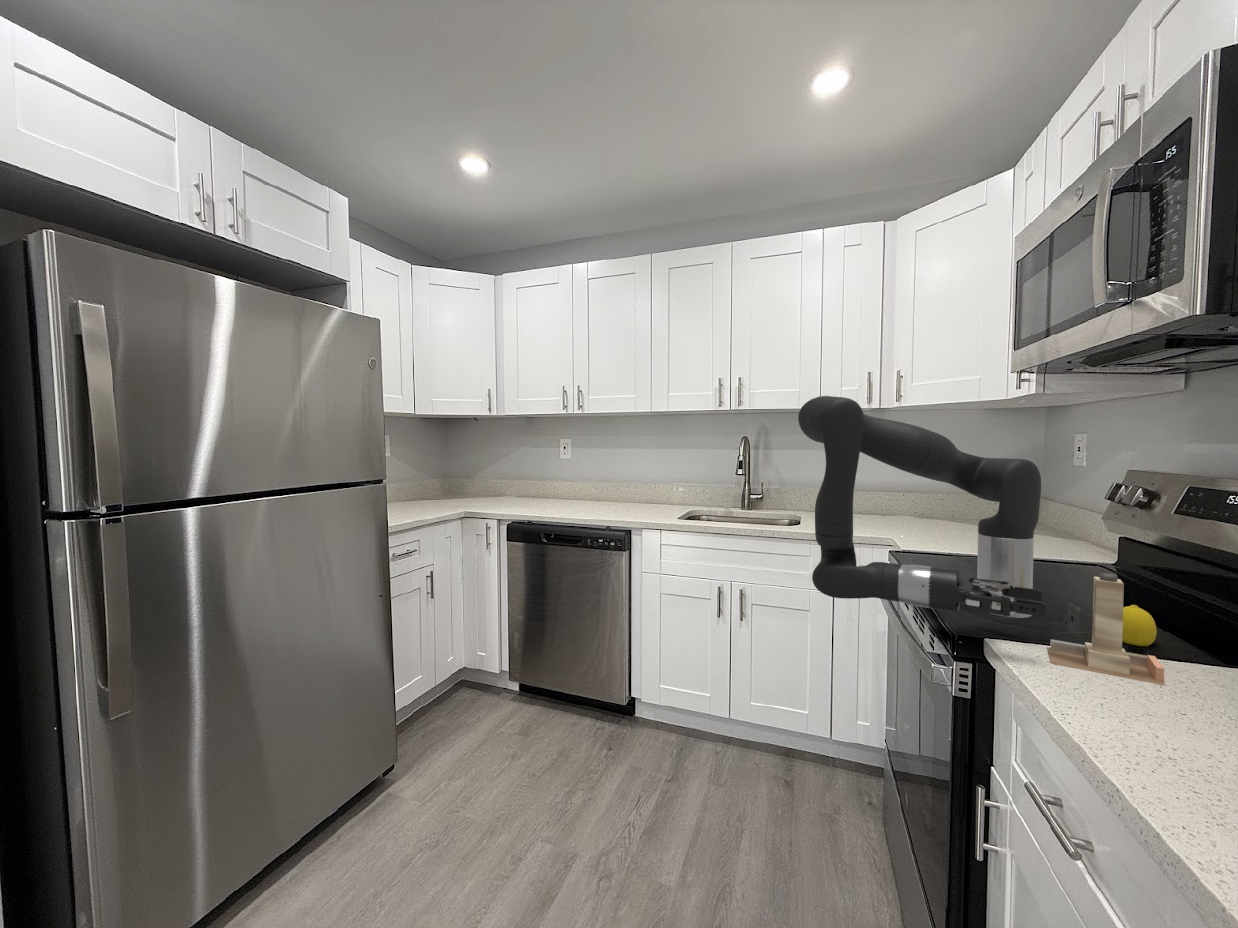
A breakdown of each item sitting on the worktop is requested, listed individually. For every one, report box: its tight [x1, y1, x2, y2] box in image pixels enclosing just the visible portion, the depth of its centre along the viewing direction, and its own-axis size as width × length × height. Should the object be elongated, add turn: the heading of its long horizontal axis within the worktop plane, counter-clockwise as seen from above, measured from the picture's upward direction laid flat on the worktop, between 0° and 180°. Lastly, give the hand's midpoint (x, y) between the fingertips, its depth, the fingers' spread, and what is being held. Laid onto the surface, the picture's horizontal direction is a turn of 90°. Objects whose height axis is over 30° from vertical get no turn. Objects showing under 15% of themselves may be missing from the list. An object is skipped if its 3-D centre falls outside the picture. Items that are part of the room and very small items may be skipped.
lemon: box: [1122, 604, 1157, 647], centre depth 88 cm, size 6×6×8 cm
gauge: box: [1084, 573, 1130, 675], centre depth 78 cm, size 4×4×14 cm
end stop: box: [1146, 654, 1165, 683], centre depth 76 cm, size 5×1×2 cm, turn 143°
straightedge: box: [1049, 638, 1147, 668], centre depth 82 cm, size 1×12×2 cm, turn 53°
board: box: [1046, 646, 1167, 686], centre depth 79 cm, size 8×13×2 cm, turn 53°
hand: (1043, 602), depth 83 cm, fingers open, 8 cm apart
